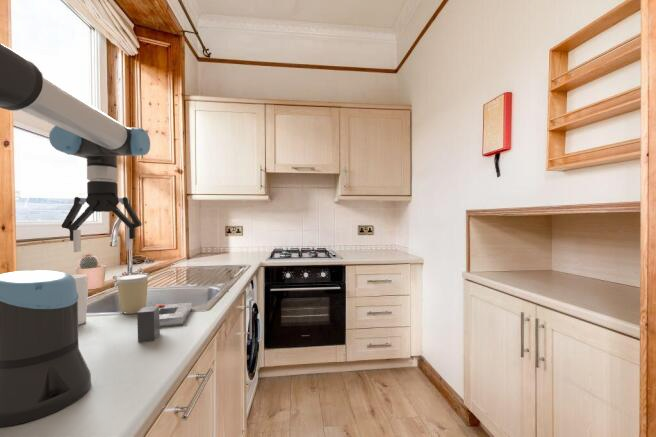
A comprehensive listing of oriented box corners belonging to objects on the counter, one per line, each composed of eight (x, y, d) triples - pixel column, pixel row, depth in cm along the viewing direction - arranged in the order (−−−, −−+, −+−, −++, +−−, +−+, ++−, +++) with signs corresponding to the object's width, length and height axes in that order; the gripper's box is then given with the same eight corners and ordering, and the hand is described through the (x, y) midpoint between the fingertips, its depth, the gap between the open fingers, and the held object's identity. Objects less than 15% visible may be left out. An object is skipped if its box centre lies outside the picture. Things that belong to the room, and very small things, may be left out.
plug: (154, 340, 83) (153, 311, 83) (137, 342, 82) (137, 312, 81) (159, 333, 87) (159, 305, 87) (144, 335, 86) (143, 307, 86)
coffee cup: (154, 306, 113) (153, 274, 113) (134, 315, 104) (133, 280, 104) (132, 305, 115) (131, 273, 114) (110, 314, 105) (109, 279, 105)
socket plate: (182, 324, 94) (182, 315, 94) (138, 329, 91) (138, 319, 91) (191, 309, 110) (191, 300, 110) (154, 312, 106) (154, 303, 106)
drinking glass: (56, 329, 92) (54, 279, 92) (69, 321, 99) (67, 275, 98) (82, 326, 94) (80, 277, 94) (93, 319, 100) (92, 273, 100)
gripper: (151, 183, 101) (152, 247, 101) (60, 182, 94) (61, 251, 94) (145, 181, 94) (146, 249, 94) (45, 179, 87) (47, 253, 87)
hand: (103, 250), depth 94 cm, fingers open, 13 cm apart
